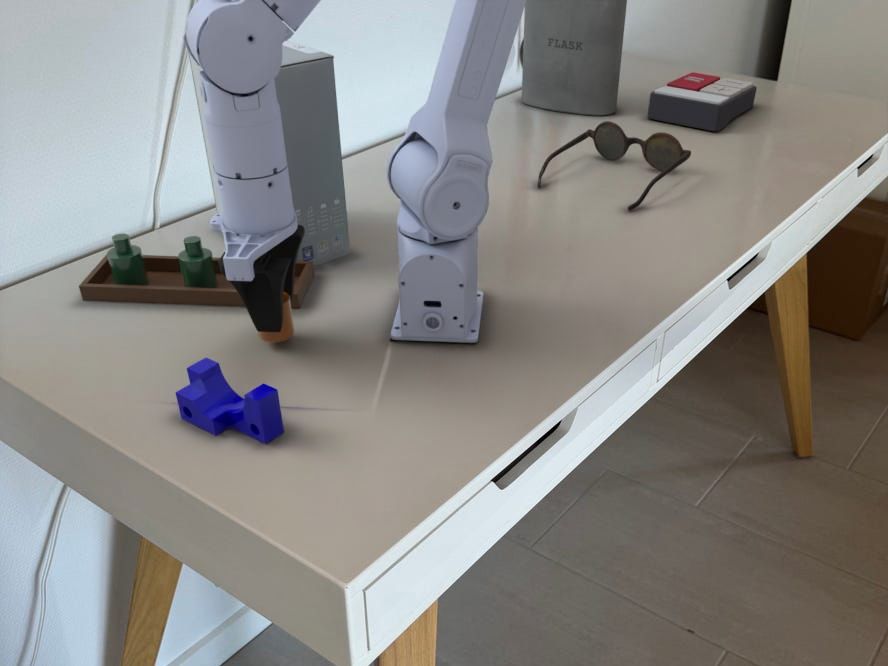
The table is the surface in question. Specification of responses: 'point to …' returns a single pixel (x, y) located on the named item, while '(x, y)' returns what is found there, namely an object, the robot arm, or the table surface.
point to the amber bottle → (287, 324)
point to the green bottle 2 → (197, 264)
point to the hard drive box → (306, 149)
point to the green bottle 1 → (127, 262)
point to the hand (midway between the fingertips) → (274, 319)
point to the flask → (573, 55)
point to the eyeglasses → (614, 144)
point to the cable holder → (228, 404)
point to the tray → (177, 285)
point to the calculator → (701, 101)
